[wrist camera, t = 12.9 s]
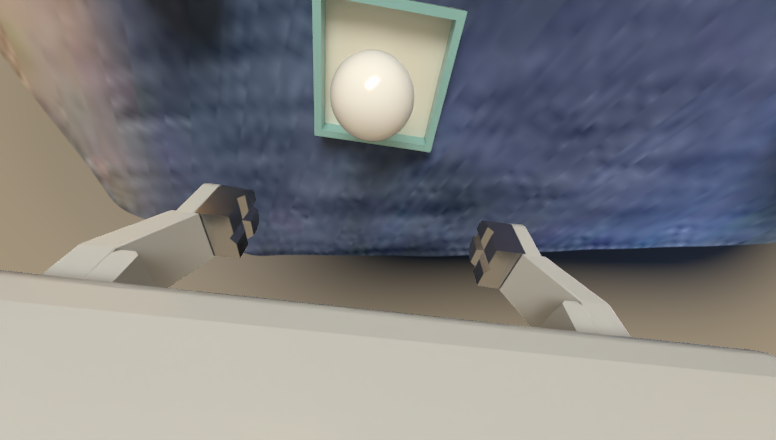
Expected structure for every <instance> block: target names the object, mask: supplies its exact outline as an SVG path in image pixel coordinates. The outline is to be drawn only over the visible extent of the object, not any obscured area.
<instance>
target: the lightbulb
mask: <svg viewBox="0 0 776 440" xmlns="http://www.w3.org/2000/svg"><path fill="white" fill-rule="evenodd" d="M414 98H415V94H414V86H413V82H412V79H411V77H410V74H409V73H408V71H407V69H406V68H405V66H404V65H403V64H402V63H401V62H400V61H399V60H398V59H397V58H395V57H394V56H393V55H391V54H389V53H387V52H384V51H381V50H375V49H368V50H362V51H359V52H356V53H354V54H352V55H350V56H349V57H347V58H346V59H345V60H344V61H343V62H342V63H341V64H340V65H339V67H338V68H337V70H336V72H335V74H334V76H333V79H332V82H331V87H330V102H331V107H332V110H333V113H334V115H335V117H336V119H337V121H338V122H339V124H340V125H341V126H342V128H343V129H344V130H345V131H347V132H348V133H349V134H350V135H352V136H354V137H356V138H358V139H361V140H364V141H371V142H375V141H382V140H386V139H388V138H390V137H392V136H394V135H396V134H397V133H398V132H399V131H401V130H402V128H403V127H404V126H405V125H406V123H407V122H408V120H409V118H410V116H411V114H412V111H413V107H414Z"/></svg>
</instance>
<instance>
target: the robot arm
mask: <svg viewBox="0 0 776 440" xmlns="http://www.w3.org/2000/svg"><path fill="white" fill-rule="evenodd" d="M255 201H256V198H255V193H254V191H252V190H251V189H244V188H238V187H231V186H225V185H217V184H210V183H206V184H203V185H202V186H201V187H200V188H199V189H198V190H197V191H196V192H195V193H194V194H193V195H192V196H191V197H189V198H188V199H187V200H186V201H185V202H184V203H183V204H182V205H181V206H180V207H179V208H178V209H177V210H176V211H173V210H170V211H168V212H165V213H162V214H159V215H157V216H154V217H151V218H149V219H146V220H143V221H141V222H138V223H135V224H133V225H130V226H127V227H124V228H121V229H119V230H116V231H113V232H111V233H108V234H105V235H103V236H100V237H97V238H94V239H92V240H89V241H86V242H84V243H81V244H79V245H78V246H77V247H75V248H74V249H73V250H72V251H70V253H68V254H67V255H65V256H64V257H63V258H62V259H60V260H59V261H58V262H57V263H55V264H54V265H53V266H52V267H50V268H49V269H48V270H47V271H45V272H44V273H43V274H42V275H41V274H32V273H23V272H13V271H4V270H0V440H776V356H774V355H771V354H768V353H765V352H760V351H755V350H748V349H738V348H728V347H718V346H709V345H699V344H690V343H680V342H671V341H662V340H652V339H643V338H633V337H630V335H629V334H628V332H627V331H626V330H625V328H624V326H623V325H622V323H621V322H620V320H619V319H618V317H617V316H616V314H615V313H614V311H613V310H612V308H611V307H610V305H609V304H608V303H606V302H605V301H604V300H602V299H601V298H600V297H598V296H597V295H596V294H594V293H593V292H591V291H590V290H589V289H588V288H586V287H585V286H584V285H582V284H581V283H580V282H578V281H577V280H576V279H574V278H573V277H572V276H570V275H569V274H567V273H566V272H565V271H563V270H562V269H561V268H559V267H558V266H557V265H555V264H554V263H553V262H551V261H550V260H549V259H547V258H546V257H541V255H540V253H539V251H538V249H537V247H536V246H535V244H534V242H533V240H532V238H531V236H530V235H529V233H528V231H527V229H526V227H525V226H523V225H519V224H506V223H498V222H490V221H481V222H480V223H479V226H478V228H477V230H478V235H476V236H475V237H473V238H472V241H471V243H470V248H469V257H470V261H471V263H472V264H473V265H475V268H474V270H473V272H474V276H475V279H476V283H477V286H483V287H491V288H498V289H500V291H501V292H502V293H503V294H504V296H505V297H506V298H507V299H508V300H509V302H510V303H511V304H512V305H513V306H514V307H515V309H516V310H517V311H518V312H519V313H520V314H521V316H522V317H523V318H524V319H525V320H526V321H527V323H528V324H529V325H530V326H531V327H530V326H520V325H511V324H502V323H492V322H483V321H473V320H464V319H455V318H445V317H436V316H426V315H417V314H408V313H399V312H389V311H380V310H370V309H361V308H351V307H342V306H333V305H324V304H314V303H304V302H295V301H286V300H276V299H267V298H258V297H247V296H239V295H229V294H220V293H211V292H201V291H192V290H183V289H173V288H168V287H170V286H171V285H173V284H174V283H176V282H177V281H179V280H180V279H182V278H183V277H185V276H186V275H188V274H189V273H191V272H192V271H194V270H195V269H197V268H198V267H200V266H201V265H203V264H204V263H206V262H207V261H209V260H210V259H212V258H213V257H214V256H222V257H233V258H240V257H241V256H242V254H243V253H244V251H245V249H246V247H247V246H248V240H247V239H248V238H250V237H252V236H253V235H254V234H255V232H256V230H257V227H258V223H259V214H258V210H257V209H256V208H255V207H254V205H253V204H254V202H255Z"/></svg>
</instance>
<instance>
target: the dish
mask: <svg viewBox="0 0 776 440" xmlns="http://www.w3.org/2000/svg"><path fill="white" fill-rule="evenodd" d="M466 15H467V11H464V10H461V9H456V8H450V7H445V6H440V5H434V4H429V3H424V2H418V1H413V0H312V19H313V72H314V124H315V135H316V136H323V137H330V138H336V139H343V140H350V141H357V142H363V143H370V144H377V145H384V146H390V147H397V148H404V149H411V150H418V151H424V152H431V148H432V144H433V140H434V137H435V133H436V129H437V125H438V121H439V118H440V114H441V110H442V106H443V102H444V99H445V95H446V91H447V87H448V83H449V80H450V76H451V72H452V68H453V64H454V61H455V57H456V53H457V49H458V45H459V42H460V38H461V34H462V30H463V26H464V23H465V19H466ZM368 49H375V50H381V51H384V52H387V53H389V54H391V55H393V56H394V57H395V58H397V59H398V60H399V61H400V62H401V63H402V64H403V65H404V66H405V68H406V69H407V71H408V73H409V74H410V77H411V79H412V82H413V86H414V94H415V98H414V107H413V111H412V114H411V116H410V118H409V120H408V122H407V123H406V125H405V126H404V127H403V128H402V130H401V131H399V132H398V133H397V134H396V135H394V136H392V137H390V138H388V139H386V140H382V141H375V142H371V141H364V140H361V139H358V138H356V137H354V136H352V135H350V134H349V133H348V132H347V131H345V130H344V129H343V128H342V126H341V125H340V124H339V122H338V121H337V119H336V117H335V115H334V113H333V110H332V107H331V102H330V87H331V82H332V79H333V76H334V74H335V72H336V70H337V68H338V67H339V65H340V64H341V63H342V62H343V61H344V60H345V59H346V58H347V57H349V56H350V55H352V54H354V53H356V52H359V51H362V50H368Z"/></svg>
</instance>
